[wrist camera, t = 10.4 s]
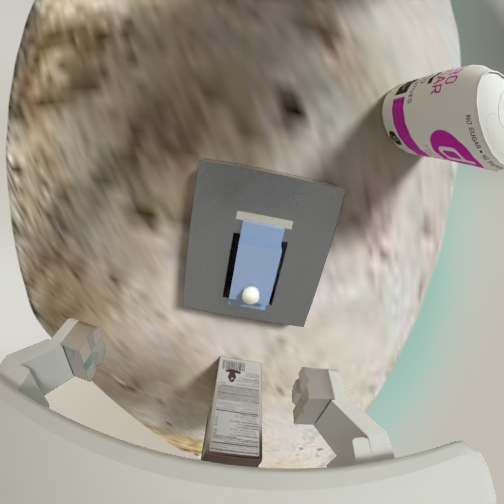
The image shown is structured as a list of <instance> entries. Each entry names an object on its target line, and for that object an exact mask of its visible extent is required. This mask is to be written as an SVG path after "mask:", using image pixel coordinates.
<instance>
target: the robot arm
mask: <svg viewBox="0 0 504 504" xmlns="http://www.w3.org/2000/svg"><path fill="white" fill-rule="evenodd" d="M101 337H102V331H101V329H100V328H98V327H95V326H92V325H90V324H87V323H84V322H81V321H78V320H76V319H73V318H69V319H67V321H66V322H65V323H64V324H63V325H62V327H61V328H60V329H59V330H58V331H57V333H56V334H55V335H54V336H53V338H52V339H51V340H49V339H47V340H45V341H42V342H40V343H37V344H35V345H32V346H30V347H27V348H24V349H22V350H19V351H17V352H14V353H12V354H9V355H7V357H6V358H5V359H4V360H3V361H2V363H1V364H0V504H497V501H496V496H495V491H494V487H493V483H492V479H491V476H490V473H489V469H488V466H487V464H486V461H485V459H484V457H483V456H482V455H481V454H480V453H479V452H478V451H477V450H475V449H474V448H473V447H471V446H470V445H469V444H467V443H465V442H463V441H455V442H452V443H449V444H446V445H443V446H440V447H437V448H434V449H430V450H427V451H423V452H420V453H415V454H412V455H408V456H403V457H399V458H394V455H393V451H392V447H391V444H390V441H389V437H388V434H387V433H386V432H385V431H384V430H383V429H382V428H381V427H380V426H378V425H377V424H376V423H375V422H374V421H373V420H372V419H370V417H369V416H368V415H366V414H365V413H364V412H363V411H362V410H361V409H360V408H359V407H358V406H357V405H356V404H355V403H354V402H352V401H351V400H347V396H346V392H345V388H344V385H343V381H342V378H341V374H340V371H339V370H338V369H322V368H306V367H302V368H301V370H300V372H299V379H297V380H296V381H295V383H294V385H293V390H292V402H293V403H294V404H295V405H296V406H295V408H294V410H293V416H294V424H312V425H314V426H315V427H316V429H317V430H318V431H319V433H320V434H321V435H322V437H323V438H324V439H325V441H326V442H327V443H328V445H329V446H330V447H331V448H332V450H333V451H334V452H335V454H336V455H337V456H336V457H335V458H334V459H333V460H332V461H331V462H330V463H328V464H327V468H304V469H282V468H259V467H246V466H236V465H227V464H220V463H213V462H207V461H201V460H195V459H190V458H185V457H180V456H176V455H171V454H167V453H163V452H159V451H156V450H152V449H148V448H145V447H141V446H138V445H135V444H132V443H128V442H126V441H122V440H120V439H117V438H114V437H111V436H109V435H106V434H104V433H101V432H99V431H96V430H94V429H91V428H89V427H86V426H84V425H82V424H80V423H77V422H75V421H73V420H71V419H69V418H67V417H65V416H63V415H60V414H59V413H56V412H55V411H53V410H51V409H49V403H48V401H47V400H46V398H45V397H44V395H45V394H47V393H49V392H50V391H52V390H53V389H55V388H57V387H58V386H60V385H61V384H63V383H65V382H66V381H68V380H69V379H71V378H73V377H74V376H76V377H79V378H81V379H84V380H87V381H91V380H92V378H93V376H94V374H95V373H96V366H97V365H99V364H101V362H102V360H103V358H104V354H105V344H104V342H103V341H102V340H101Z"/></svg>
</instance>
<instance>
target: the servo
mask: <svg viewBox="0 0 504 504" xmlns="http://www.w3.org/2000/svg"><path fill="white" fill-rule="evenodd" d="M284 231H285V229H284V228H282V227H276V226H271V225H266V224H261V223H256V222H250V221H245V220H243V223H242V228H241V234H240V239H239V244H238V250H237V256H236V261H235V267H234V272H233V278H232V284H231V289H230V295H229V301H228V304H230V305H236V306H242V307H248V308H254V309H260V310H265V308H266V305H269V301H270V297H271V293H272V289H273V285H274V282H275V278H276V274H277V270H278V266H279V262H280V258H281V254H282V247H281V243H282V239H283V235H284Z"/></svg>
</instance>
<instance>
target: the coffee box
mask: <svg viewBox="0 0 504 504" xmlns="http://www.w3.org/2000/svg"><path fill="white" fill-rule="evenodd" d="M201 461H207V462H213V463H220V464H227V465H236V466H246V467H258V466H259V464H260V463H261V461H262V364H261V363H258V362H251V361H244V360H238V359H232V358H226V357H220V358H219V361H218V365H217V370H216V375H215V380H214V385H213V390H212V395H211V400H210V406H209V412H208V418H207V424H206V430H205V437H204V443H203V450H202V457H201Z"/></svg>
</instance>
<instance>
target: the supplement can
mask: <svg viewBox="0 0 504 504" xmlns="http://www.w3.org/2000/svg"><path fill="white" fill-rule="evenodd" d="M382 116H383V123H384V126H385V129H386V131H387V133H388V135H389V137H390V138H391V140H392V141H393V142H394V143H395V145H396V146H397V147H399V148H400V149H402V150H403V151H405V152H406V153H410V154H415V155H421V156H427V157H433V158H438V159H444V160H449V161H454V162H459V163H464V164H468V165H472V166H477V167H481V168H485V169H489V170H492V171H499V170H503V169H504V75H502V74H501V73H500V72H498V71H493V70H491V69H489V68H487V67H485V66H482V65H469V66H464V67H460V68H456V69H452V70H448V71H444V72H440V73H437V74H433V75H430V76H426V77H423V78H420V79H416V80H413V81H410V82H407V83H404V84H401V85H398V86H396V87H395V88H393V89H392V90H390V91H389V93H388V94H387V96H386V97H385V99H384V103H383V108H382Z"/></svg>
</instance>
